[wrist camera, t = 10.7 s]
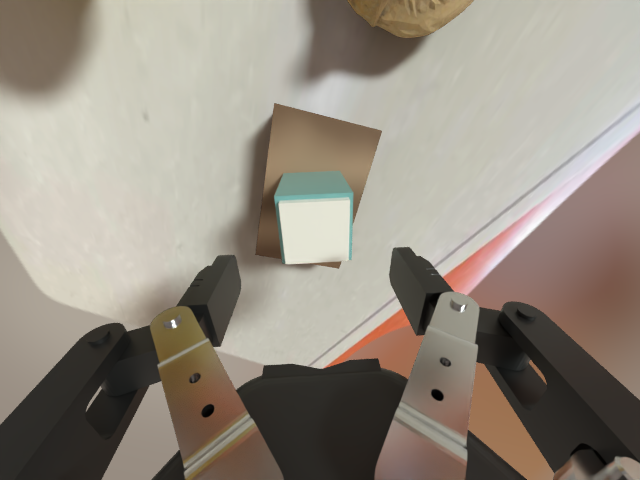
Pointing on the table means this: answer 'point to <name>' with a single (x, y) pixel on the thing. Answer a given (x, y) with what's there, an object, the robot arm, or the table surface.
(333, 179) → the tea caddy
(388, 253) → the table surface
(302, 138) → the brown rectangular block
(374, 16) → the oil lamp
